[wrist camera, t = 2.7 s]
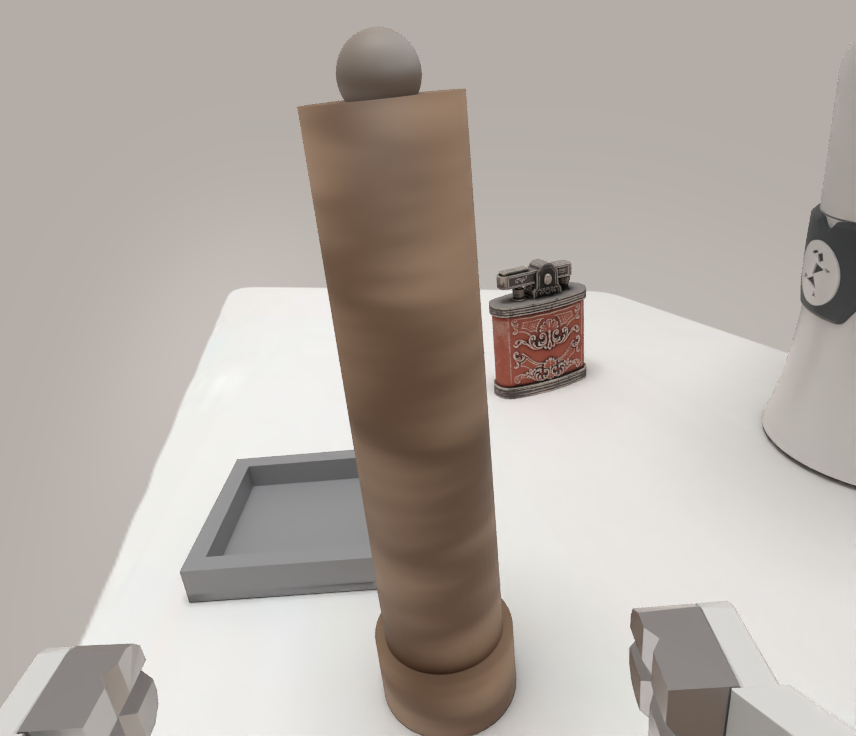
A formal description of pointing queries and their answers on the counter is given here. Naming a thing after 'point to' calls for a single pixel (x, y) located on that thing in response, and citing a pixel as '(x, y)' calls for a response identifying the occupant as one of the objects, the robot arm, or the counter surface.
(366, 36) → the pepper mill
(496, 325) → the lighter
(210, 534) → the tray
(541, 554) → the counter surface
